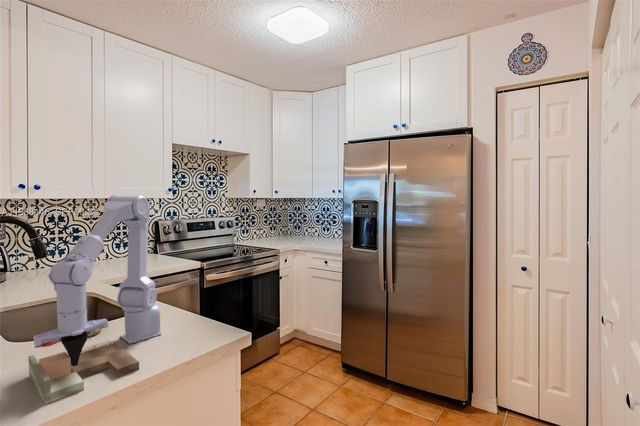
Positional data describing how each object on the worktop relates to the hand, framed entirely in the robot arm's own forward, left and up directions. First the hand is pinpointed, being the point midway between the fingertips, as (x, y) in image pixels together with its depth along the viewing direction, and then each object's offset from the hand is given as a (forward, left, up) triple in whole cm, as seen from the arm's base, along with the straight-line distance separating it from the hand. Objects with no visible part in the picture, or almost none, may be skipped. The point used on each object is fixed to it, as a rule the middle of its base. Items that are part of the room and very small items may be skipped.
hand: (74, 364), depth 84 cm
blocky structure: (-2, 0, -3) cm, 4 cm away
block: (+4, 0, -1) cm, 4 cm away
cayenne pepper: (-2, -27, -4) cm, 27 cm away
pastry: (-11, -27, -3) cm, 29 cm away
